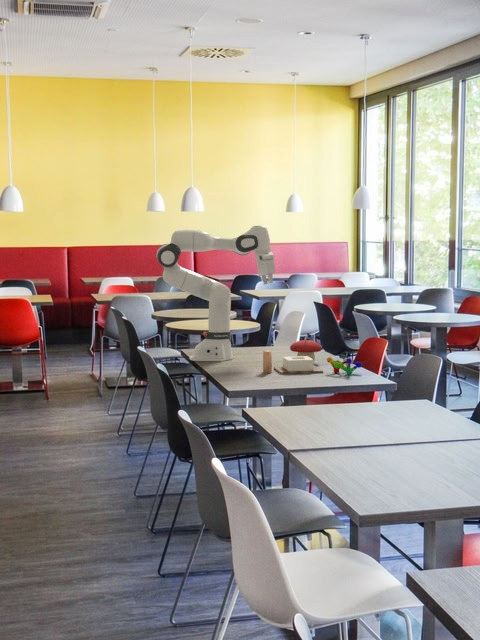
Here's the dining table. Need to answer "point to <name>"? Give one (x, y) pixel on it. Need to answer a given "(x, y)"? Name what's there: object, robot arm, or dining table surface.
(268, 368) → the peg
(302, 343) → the mushroom
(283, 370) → the base board
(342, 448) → the dining table surface
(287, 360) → the socket block
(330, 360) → the decorative model
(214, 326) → the robot arm
